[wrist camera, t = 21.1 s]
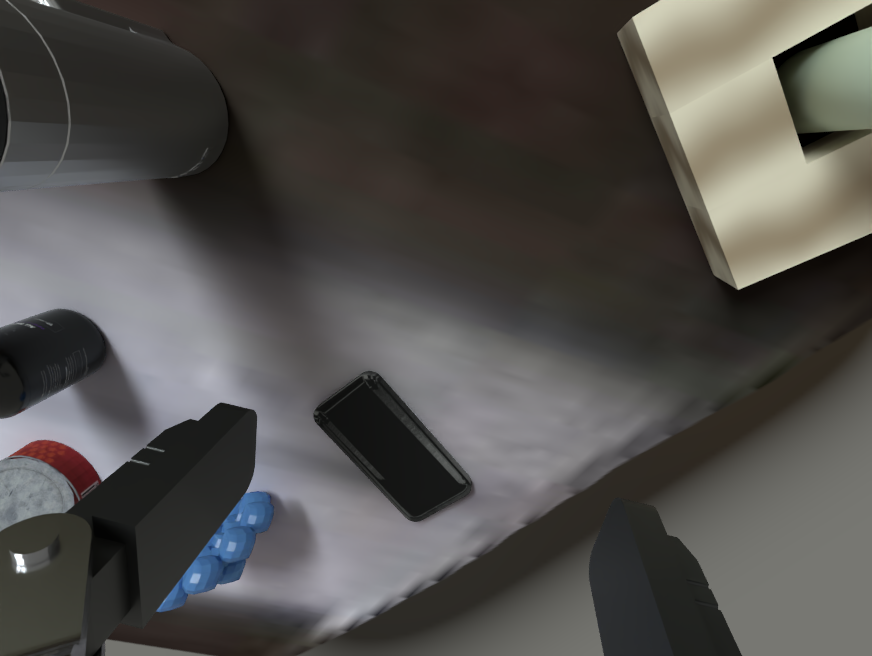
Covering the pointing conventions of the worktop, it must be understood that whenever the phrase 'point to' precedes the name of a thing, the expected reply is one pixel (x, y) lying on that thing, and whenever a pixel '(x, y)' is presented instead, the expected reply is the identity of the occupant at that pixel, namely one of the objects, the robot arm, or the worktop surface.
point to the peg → (830, 85)
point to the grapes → (224, 550)
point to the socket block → (749, 131)
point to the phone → (392, 447)
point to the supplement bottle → (45, 357)
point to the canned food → (43, 481)
